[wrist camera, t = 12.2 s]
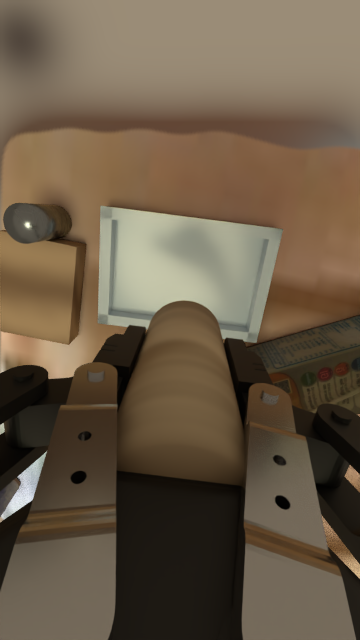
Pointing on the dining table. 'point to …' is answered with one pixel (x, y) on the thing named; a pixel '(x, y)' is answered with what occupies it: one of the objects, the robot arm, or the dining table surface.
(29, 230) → the stop post
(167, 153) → the dining table surface
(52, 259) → the tan flat block
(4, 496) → the flask
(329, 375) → the beverage carton
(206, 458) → the tan cylinder
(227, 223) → the tray
